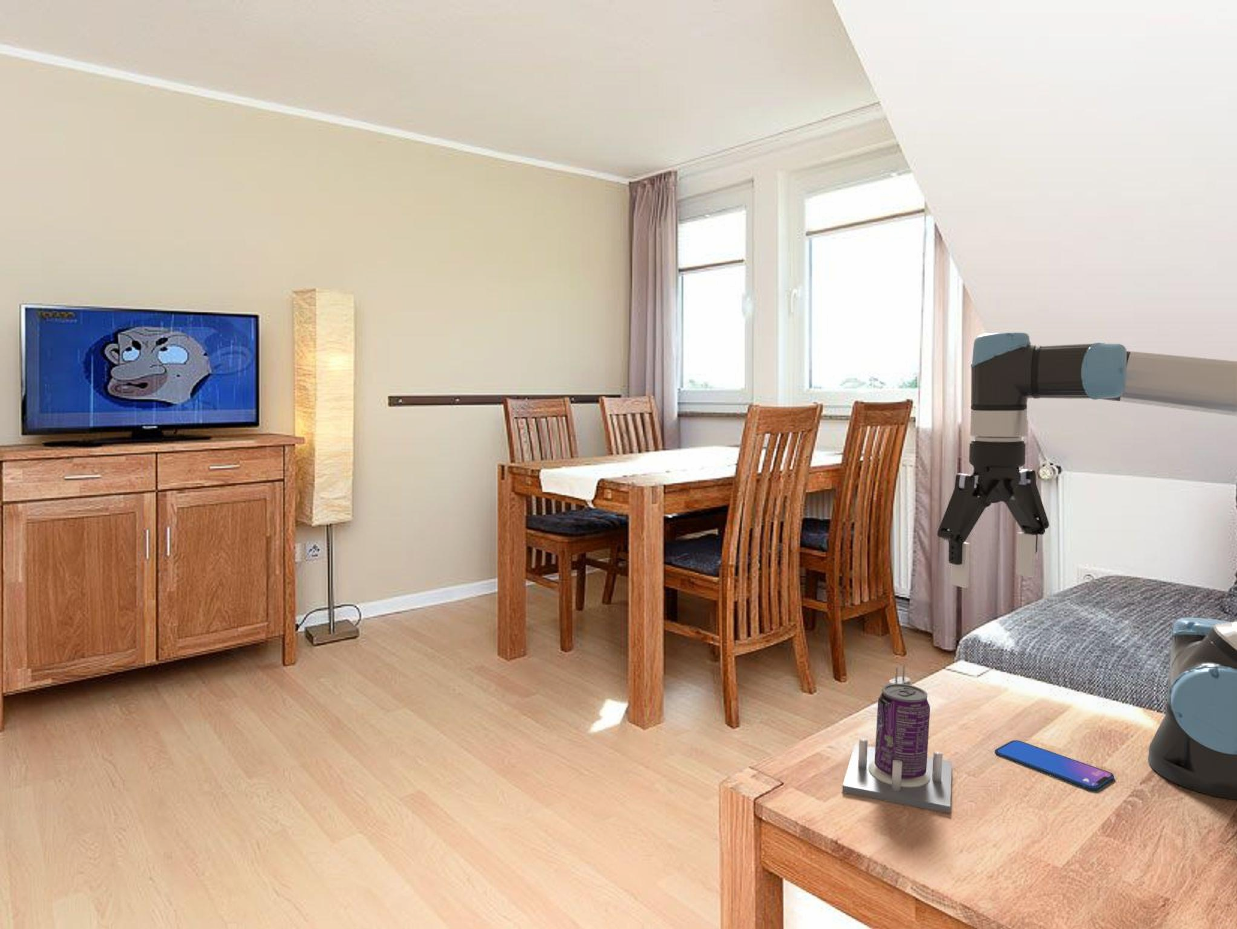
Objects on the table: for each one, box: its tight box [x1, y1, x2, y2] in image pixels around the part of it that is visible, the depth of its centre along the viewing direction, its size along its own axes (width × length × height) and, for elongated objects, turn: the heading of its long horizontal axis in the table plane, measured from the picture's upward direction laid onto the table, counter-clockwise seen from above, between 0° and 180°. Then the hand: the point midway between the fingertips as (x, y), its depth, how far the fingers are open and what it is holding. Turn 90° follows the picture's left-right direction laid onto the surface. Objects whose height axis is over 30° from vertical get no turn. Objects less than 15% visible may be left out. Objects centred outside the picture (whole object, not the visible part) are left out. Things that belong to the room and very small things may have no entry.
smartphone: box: [994, 739, 1115, 792], centre depth 122 cm, size 7×1×15 cm
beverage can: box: [874, 683, 931, 779], centre depth 116 cm, size 7×7×12 cm
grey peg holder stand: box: [841, 737, 953, 814], centre depth 117 cm, size 14×14×5 cm
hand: (992, 580), depth 121 cm, fingers open, 13 cm apart
